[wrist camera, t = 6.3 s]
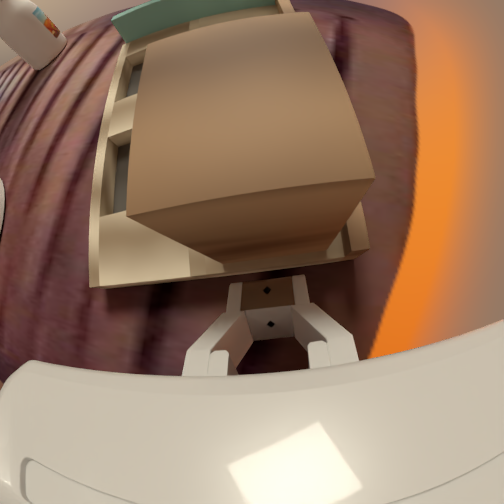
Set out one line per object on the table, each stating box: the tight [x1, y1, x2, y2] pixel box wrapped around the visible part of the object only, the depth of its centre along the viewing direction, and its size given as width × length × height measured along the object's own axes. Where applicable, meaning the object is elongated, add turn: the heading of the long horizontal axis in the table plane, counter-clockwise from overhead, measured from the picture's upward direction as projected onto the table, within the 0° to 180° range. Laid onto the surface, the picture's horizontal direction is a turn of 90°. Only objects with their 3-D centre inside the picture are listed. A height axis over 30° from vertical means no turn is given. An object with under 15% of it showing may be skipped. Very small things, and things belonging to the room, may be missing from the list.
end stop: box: [111, 0, 275, 43], centre depth 20 cm, size 1×18×6 cm, turn 96°
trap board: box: [89, 0, 370, 289], centre depth 19 cm, size 26×18×4 cm
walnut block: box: [126, 12, 375, 264], centre depth 12 cm, size 7×6×10 cm
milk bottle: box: [0, 0, 67, 70], centre depth 19 cm, size 8×8×20 cm
